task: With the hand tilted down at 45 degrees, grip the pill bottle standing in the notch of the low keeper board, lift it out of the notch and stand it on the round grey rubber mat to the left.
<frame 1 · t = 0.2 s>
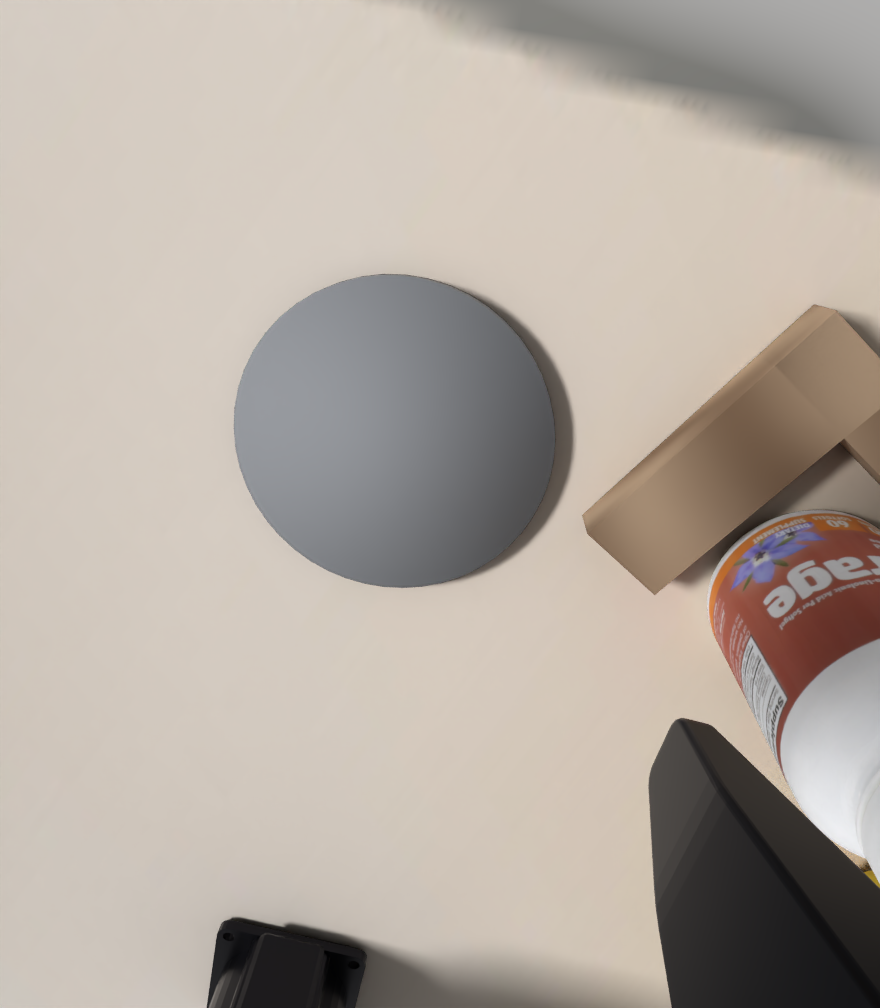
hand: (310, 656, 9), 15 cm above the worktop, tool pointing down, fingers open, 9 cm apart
pill bottle: (795, 587, 24), on the worktop
mat: (394, 438, 23), on the worktop
keeper: (798, 591, 24), on the worktop
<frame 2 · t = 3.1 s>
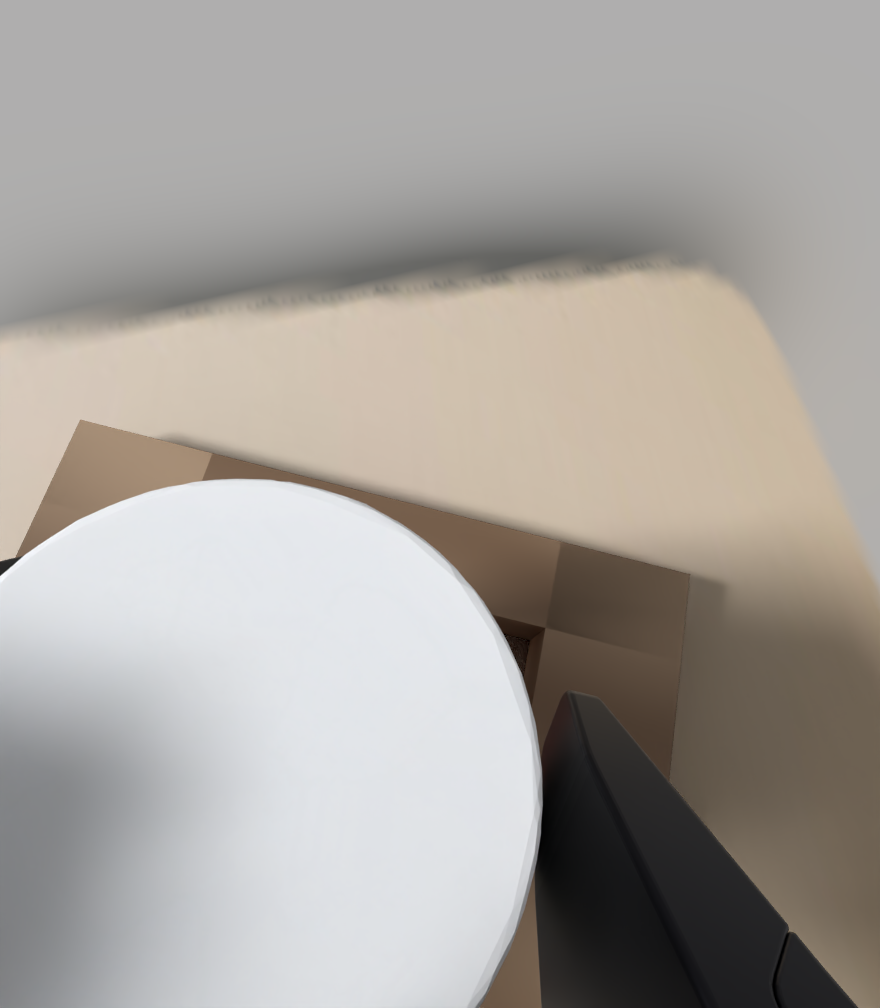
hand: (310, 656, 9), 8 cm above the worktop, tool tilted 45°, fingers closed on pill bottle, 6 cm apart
pill bottle: (314, 778, 16), on the worktop, touching gripper
keeper: (313, 778, 15), on the worktop
when the fingers open (11 cm above the worktop, at t = 6.1 s): pill bottle drops 3 cm, resting on mat.
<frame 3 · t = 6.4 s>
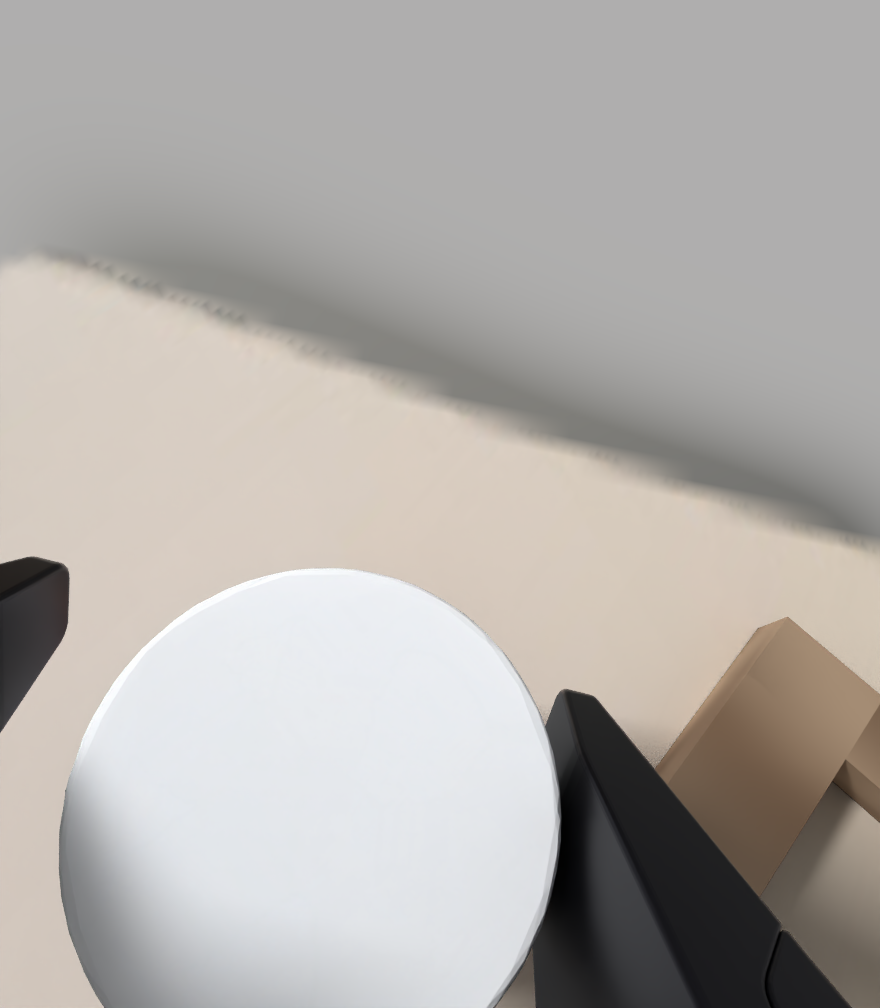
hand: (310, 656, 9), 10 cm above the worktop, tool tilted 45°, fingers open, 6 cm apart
pill bottle: (339, 803, 17), resting on mat, touching gripper
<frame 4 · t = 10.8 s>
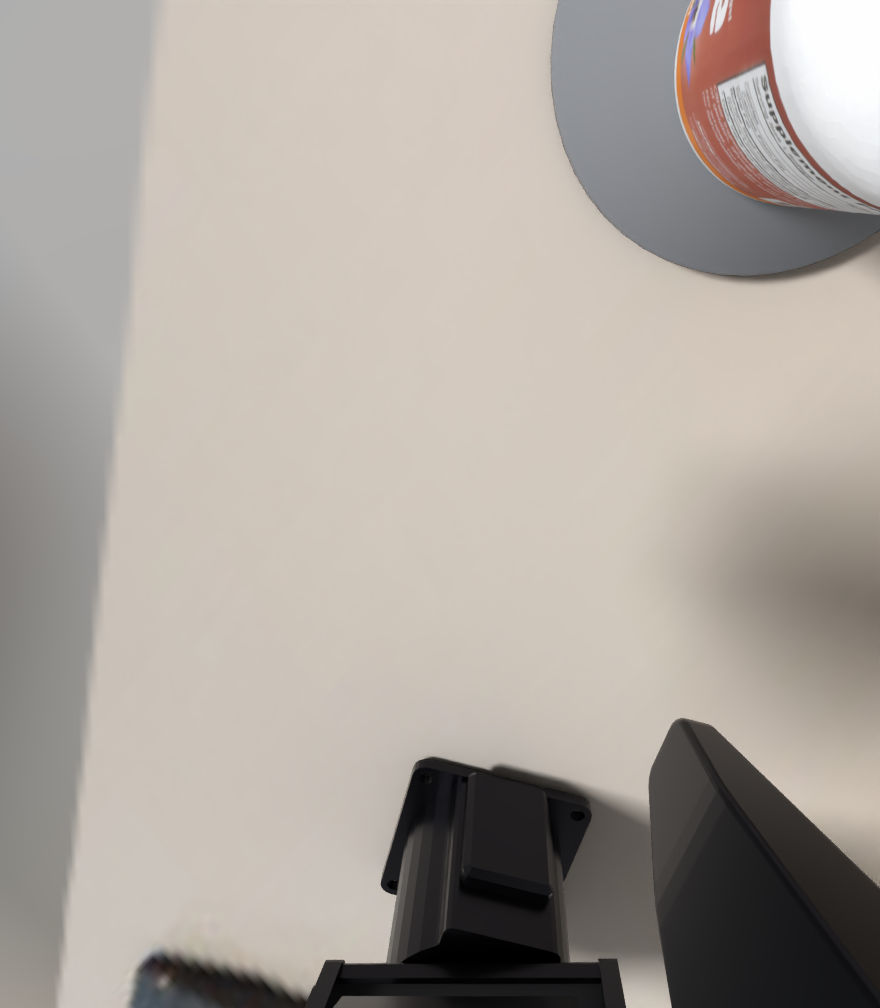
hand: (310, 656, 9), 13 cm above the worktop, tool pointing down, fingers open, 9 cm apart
pill bottle: (805, 61, 17), resting on mat
mat: (767, 48, 17), on the worktop
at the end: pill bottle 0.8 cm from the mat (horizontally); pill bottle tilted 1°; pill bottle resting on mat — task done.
